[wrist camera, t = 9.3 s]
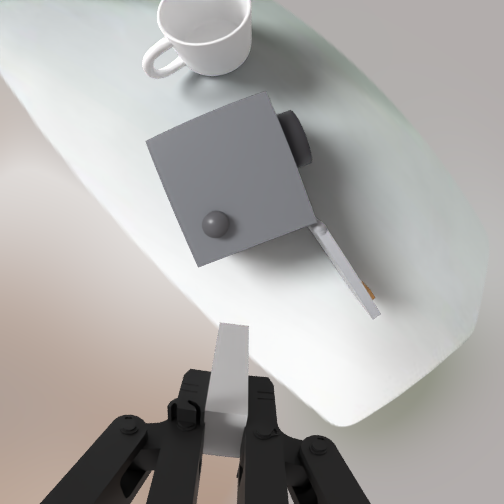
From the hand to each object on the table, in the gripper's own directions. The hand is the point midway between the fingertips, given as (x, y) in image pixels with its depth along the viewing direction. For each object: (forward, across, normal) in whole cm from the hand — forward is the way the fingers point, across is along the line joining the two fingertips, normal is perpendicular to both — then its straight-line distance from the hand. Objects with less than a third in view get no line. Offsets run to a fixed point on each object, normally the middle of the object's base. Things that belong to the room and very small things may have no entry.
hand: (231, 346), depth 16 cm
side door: (+20, +11, +1) cm, 23 cm away
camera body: (+21, -1, +8) cm, 22 cm away
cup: (+21, -7, +22) cm, 31 cm away
